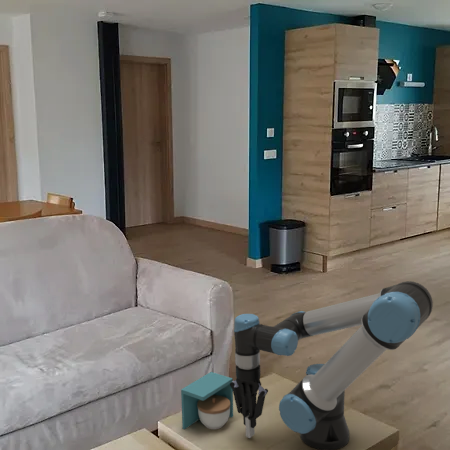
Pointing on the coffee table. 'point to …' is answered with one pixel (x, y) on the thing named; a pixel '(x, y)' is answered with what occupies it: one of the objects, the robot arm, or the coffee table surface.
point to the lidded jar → (214, 411)
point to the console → (204, 395)
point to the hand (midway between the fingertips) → (250, 435)
